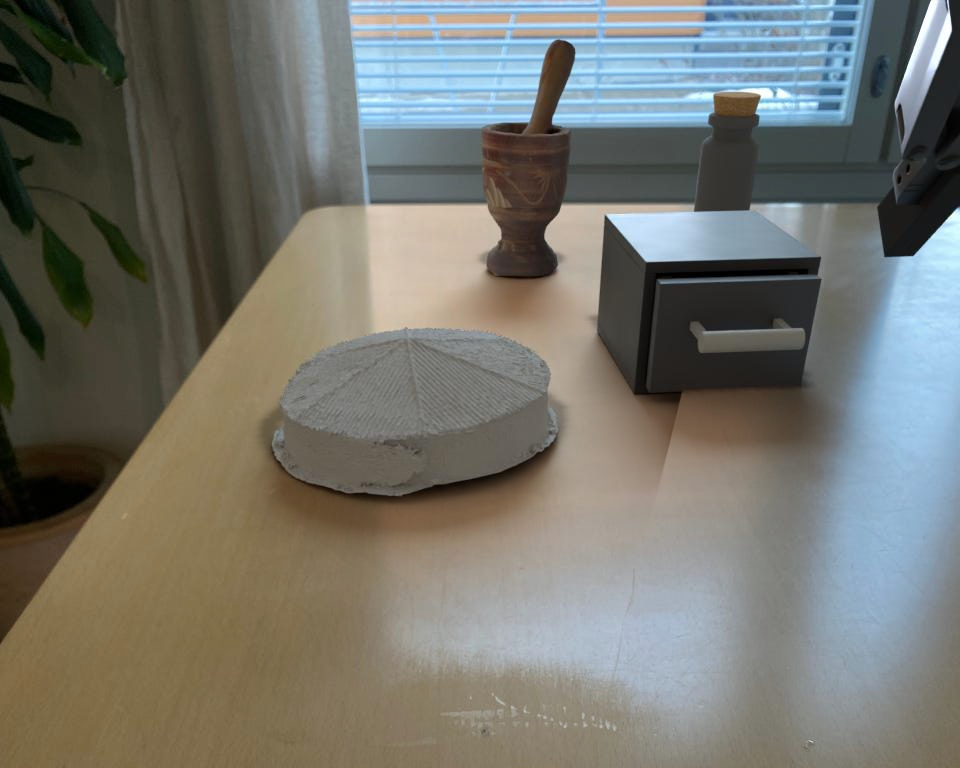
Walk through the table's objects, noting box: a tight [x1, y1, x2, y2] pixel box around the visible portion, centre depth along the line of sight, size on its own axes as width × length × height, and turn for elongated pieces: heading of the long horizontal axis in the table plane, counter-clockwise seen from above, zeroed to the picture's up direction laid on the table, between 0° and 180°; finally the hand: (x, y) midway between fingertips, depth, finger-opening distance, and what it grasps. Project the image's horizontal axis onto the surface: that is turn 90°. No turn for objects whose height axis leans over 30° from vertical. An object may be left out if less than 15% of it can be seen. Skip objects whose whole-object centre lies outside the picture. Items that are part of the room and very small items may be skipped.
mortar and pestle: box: [480, 38, 577, 277], centre depth 97 cm, size 12×9×20 cm
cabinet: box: [596, 209, 822, 395], centre depth 77 cm, size 15×13×10 cm
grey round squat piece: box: [271, 326, 559, 497], centre depth 66 cm, size 20×20×7 cm
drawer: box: [646, 269, 822, 394], centre depth 73 cm, size 18×11×8 cm, turn 5°
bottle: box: [693, 91, 762, 212], centre depth 103 cm, size 6×6×15 cm
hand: (895, 231), depth 48 cm, fingers closed
